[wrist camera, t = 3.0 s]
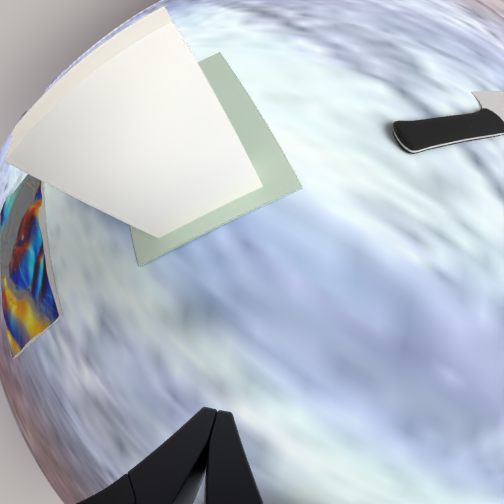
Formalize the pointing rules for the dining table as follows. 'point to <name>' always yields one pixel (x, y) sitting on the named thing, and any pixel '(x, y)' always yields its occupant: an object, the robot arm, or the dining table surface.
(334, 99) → the dining table surface
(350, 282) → the dining table surface
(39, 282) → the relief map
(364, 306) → the dining table surface
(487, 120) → the kitchen cleaver
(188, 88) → the standing glazed tile
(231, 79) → the sage rubber mat
